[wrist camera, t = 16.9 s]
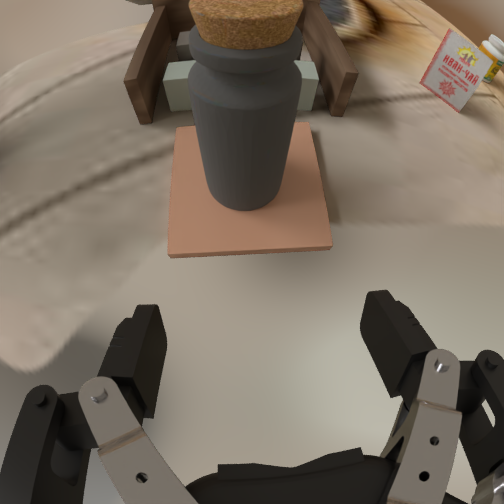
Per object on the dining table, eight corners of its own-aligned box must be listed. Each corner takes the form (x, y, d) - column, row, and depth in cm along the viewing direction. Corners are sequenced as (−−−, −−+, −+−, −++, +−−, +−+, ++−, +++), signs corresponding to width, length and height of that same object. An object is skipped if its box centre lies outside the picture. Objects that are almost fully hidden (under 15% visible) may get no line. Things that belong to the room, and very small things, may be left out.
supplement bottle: (473, 63, 35) (492, 31, 26) (492, 81, 34) (513, 51, 25) (465, 65, 34) (485, 31, 25) (486, 85, 33) (509, 52, 24)
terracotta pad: (170, 258, 22) (167, 254, 21) (178, 134, 25) (176, 127, 24) (329, 250, 22) (333, 245, 21) (306, 129, 26) (308, 122, 25)
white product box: (425, 74, 31) (451, 26, 21) (462, 103, 30) (493, 58, 20) (419, 83, 30) (447, 30, 20) (458, 113, 29) (492, 65, 19)
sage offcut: (171, 112, 27) (162, 80, 22) (175, 94, 27) (168, 62, 23) (310, 112, 27) (318, 79, 23) (306, 93, 28) (313, 62, 24)
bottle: (296, 177, 23) (342, 4, 9) (246, 227, 21) (251, 39, 7) (242, 138, 24) (242, -27, 10) (191, 181, 23) (146, 7, 8)
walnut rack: (136, 125, 26) (92, 8, 12) (162, 35, 32) (147, -45, 18) (345, 117, 27) (388, 2, 13) (310, 30, 32) (324, -50, 19)
